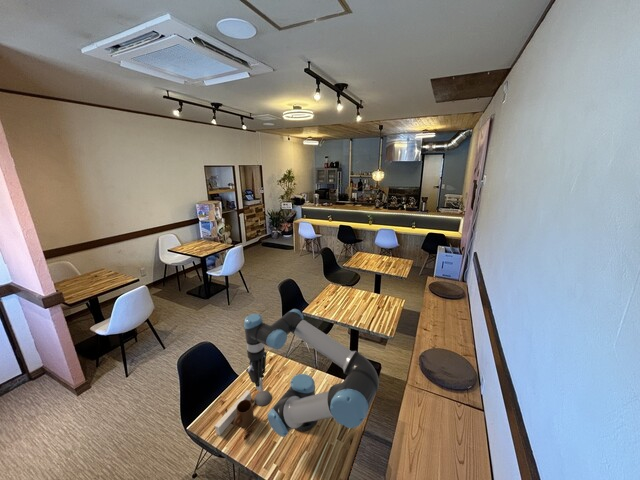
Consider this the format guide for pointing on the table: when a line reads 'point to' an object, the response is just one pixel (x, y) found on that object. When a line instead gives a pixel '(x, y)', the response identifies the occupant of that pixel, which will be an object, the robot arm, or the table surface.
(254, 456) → the table surface
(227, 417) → the board
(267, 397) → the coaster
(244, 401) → the mug
